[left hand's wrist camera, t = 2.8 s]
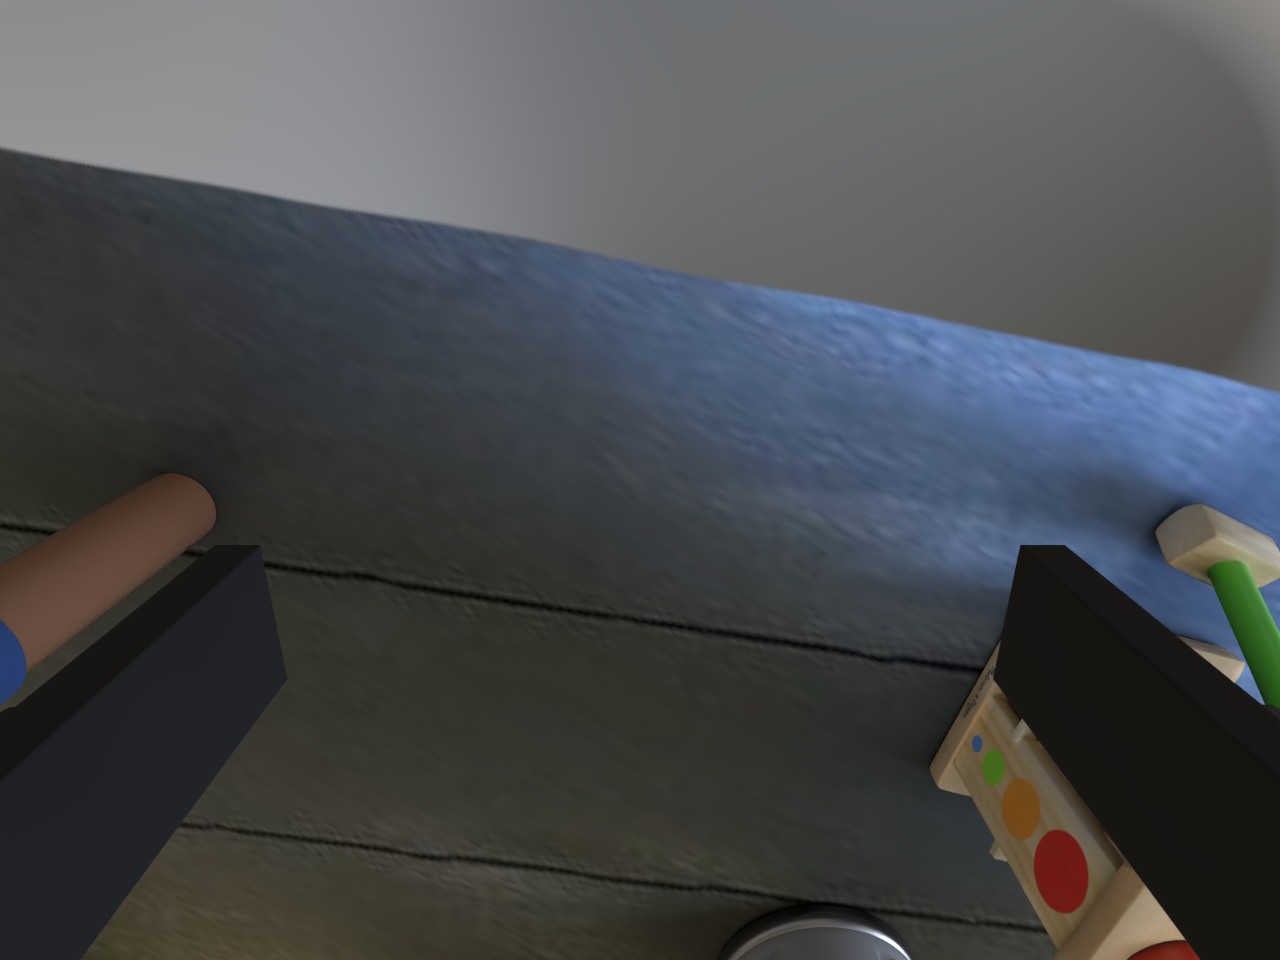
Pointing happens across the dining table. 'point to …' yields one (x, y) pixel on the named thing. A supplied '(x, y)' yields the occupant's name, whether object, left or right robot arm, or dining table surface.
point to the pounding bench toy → (1048, 804)
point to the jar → (99, 561)
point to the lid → (10, 663)
